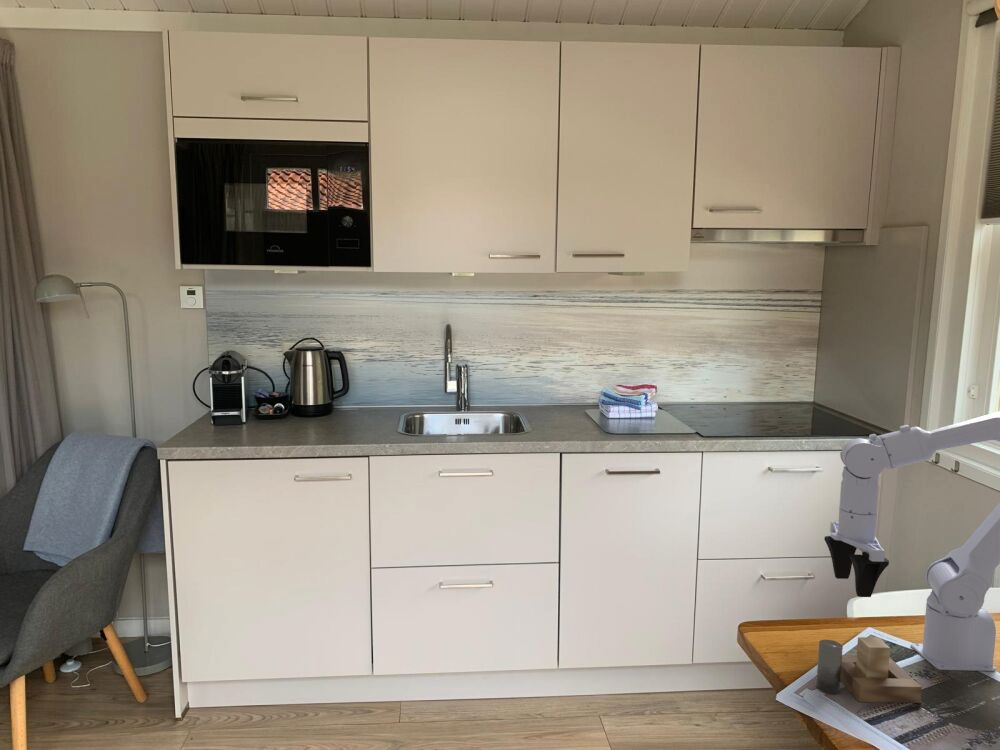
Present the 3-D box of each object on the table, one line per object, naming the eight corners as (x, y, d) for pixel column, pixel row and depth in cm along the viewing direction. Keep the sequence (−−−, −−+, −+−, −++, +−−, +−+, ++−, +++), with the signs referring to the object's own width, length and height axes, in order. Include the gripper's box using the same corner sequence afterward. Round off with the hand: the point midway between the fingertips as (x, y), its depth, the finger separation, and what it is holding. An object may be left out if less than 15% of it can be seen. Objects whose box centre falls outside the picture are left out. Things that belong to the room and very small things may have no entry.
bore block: (886, 670, 112) (888, 655, 111) (920, 703, 103) (921, 686, 102) (830, 669, 112) (831, 654, 111) (859, 701, 103) (860, 685, 102)
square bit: (875, 680, 109) (878, 637, 108) (886, 691, 106) (890, 647, 105) (854, 680, 109) (858, 637, 108) (865, 691, 105) (868, 647, 105)
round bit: (833, 682, 108) (836, 639, 107) (843, 694, 105) (846, 650, 104) (812, 682, 108) (815, 639, 107) (821, 694, 105) (825, 649, 104)
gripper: (815, 497, 126) (810, 570, 127) (855, 523, 111) (849, 604, 113) (854, 498, 126) (849, 570, 127) (900, 523, 111) (893, 605, 113)
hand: (852, 586), depth 120 cm, fingers open, 7 cm apart
